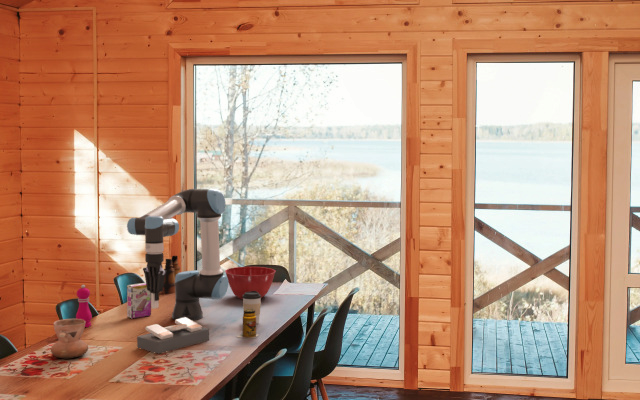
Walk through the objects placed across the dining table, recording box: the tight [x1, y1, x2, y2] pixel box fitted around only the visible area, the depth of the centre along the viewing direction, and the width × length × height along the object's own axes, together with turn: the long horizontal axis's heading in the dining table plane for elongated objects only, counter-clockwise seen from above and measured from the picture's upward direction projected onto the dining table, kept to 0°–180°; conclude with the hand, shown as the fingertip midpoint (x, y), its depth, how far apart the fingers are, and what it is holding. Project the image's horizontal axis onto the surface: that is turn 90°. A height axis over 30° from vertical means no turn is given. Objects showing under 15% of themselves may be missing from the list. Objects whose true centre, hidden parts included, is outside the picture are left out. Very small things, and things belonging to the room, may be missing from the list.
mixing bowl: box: [224, 266, 276, 300], centre depth 412 cm, size 28×28×16 cm
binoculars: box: [161, 255, 181, 295], centre depth 430 cm, size 18×8×20 cm, turn 171°
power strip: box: [136, 326, 210, 355], centre depth 316 cm, size 14×31×6 cm, turn 141°
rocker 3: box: [174, 317, 203, 332], centre depth 321 cm, size 11×6×2 cm, turn 51°
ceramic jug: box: [50, 318, 89, 359], centre depth 297 cm, size 18×14×14 cm
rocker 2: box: [163, 324, 187, 332], centre depth 314 cm, size 11×6×2 cm, turn 51°
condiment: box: [236, 309, 260, 339], centre depth 328 cm, size 7×8×12 cm
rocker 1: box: [144, 323, 173, 340], centre depth 308 cm, size 11×6×2 cm, turn 51°
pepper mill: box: [75, 284, 93, 329], centre depth 344 cm, size 7×7×20 cm
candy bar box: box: [126, 282, 152, 320], centre depth 365 cm, size 11×5×16 cm, turn 135°
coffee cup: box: [242, 291, 262, 325], centre depth 353 cm, size 9×9×15 cm
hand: (154, 307), depth 309 cm, fingers closed
